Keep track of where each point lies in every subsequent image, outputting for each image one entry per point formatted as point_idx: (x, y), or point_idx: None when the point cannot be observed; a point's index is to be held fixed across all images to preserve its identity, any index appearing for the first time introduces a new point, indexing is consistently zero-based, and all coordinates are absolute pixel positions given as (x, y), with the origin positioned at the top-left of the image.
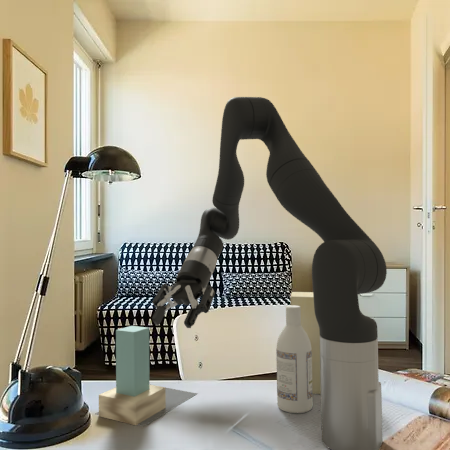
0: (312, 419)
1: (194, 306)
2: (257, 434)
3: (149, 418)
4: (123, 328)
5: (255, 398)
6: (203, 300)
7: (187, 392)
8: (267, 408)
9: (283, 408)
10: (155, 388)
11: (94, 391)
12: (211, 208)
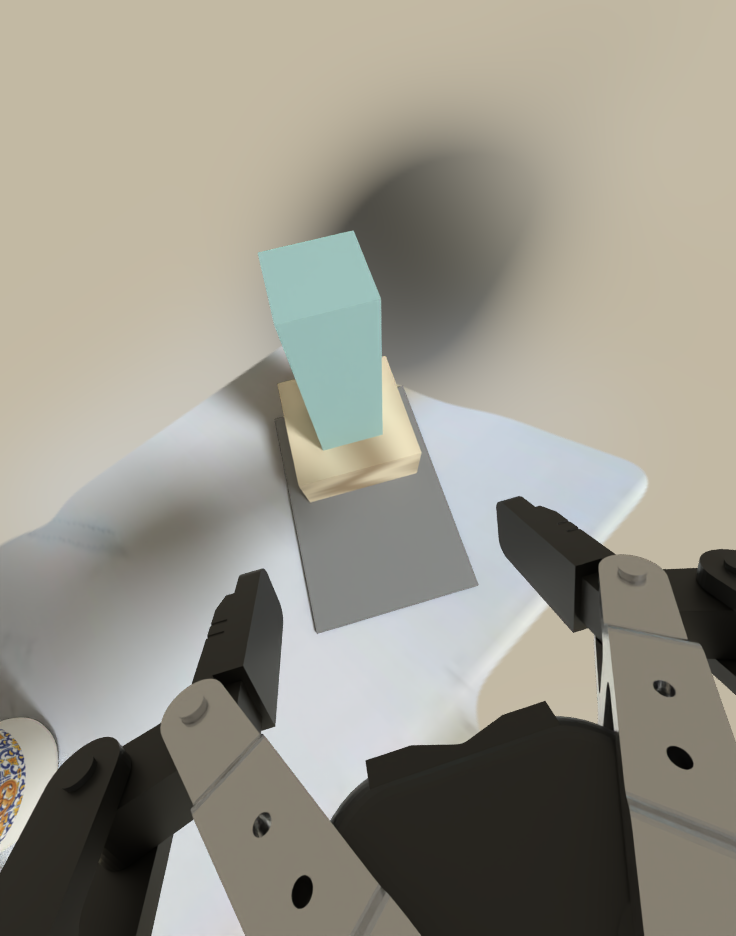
0: None
1: (184, 699)
2: (54, 554)
3: None
4: (355, 257)
5: None
6: (46, 852)
7: (347, 618)
8: (84, 704)
9: (22, 718)
10: (313, 463)
11: (550, 450)
12: None
